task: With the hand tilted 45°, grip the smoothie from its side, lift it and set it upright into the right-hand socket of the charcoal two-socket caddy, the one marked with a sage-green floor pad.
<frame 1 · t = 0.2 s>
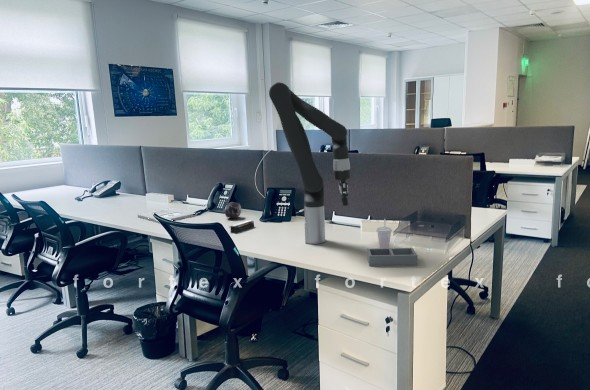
hand: (344, 203, 195), 18 cm above the table, tool pointing down, fingers open, 8 cm apart
mineral specimen: (233, 218, 255), on the table
award plaque: (167, 217, 269), on the table
smoothie: (384, 251, 181), on the table
caddy: (391, 261, 167), on the table
dark brown flat block: (246, 230, 228), on the table
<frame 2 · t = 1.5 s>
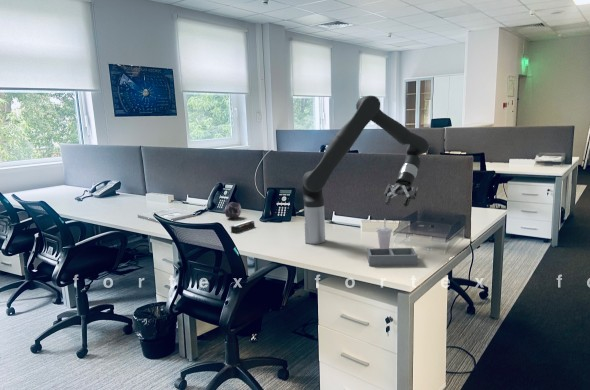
hand: (395, 205, 186), 18 cm above the table, tool tilted 45°, fingers open, 8 cm apart
nothing on the table moved.
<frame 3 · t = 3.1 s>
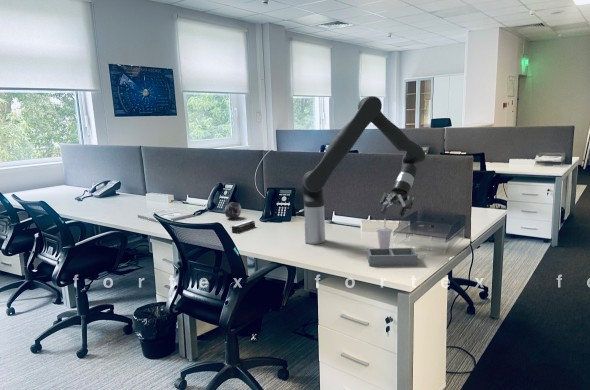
hand: (391, 214, 184), 14 cm above the table, tool tilted 45°, fingers open, 8 cm apart
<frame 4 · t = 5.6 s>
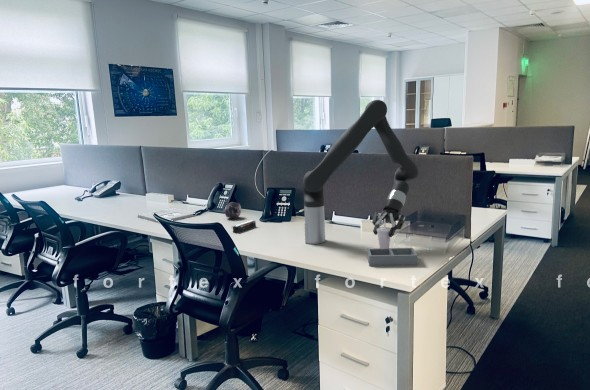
hand: (382, 234, 179), 7 cm above the table, tool tilted 45°, fingers closed on smoothie, 6 cm apart
smoothie: (384, 251, 181), on the table, touching gripper
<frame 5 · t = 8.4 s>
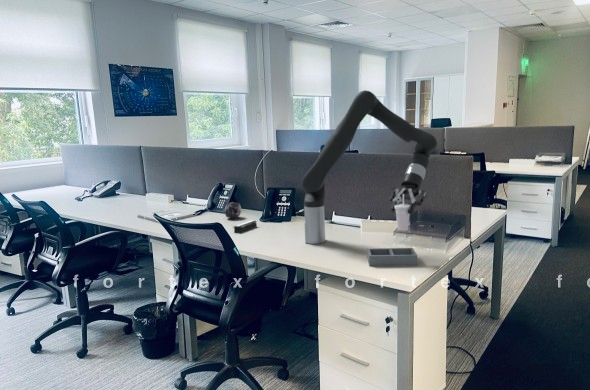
hand: (400, 212, 163), 20 cm above the table, tool tilted 45°, fingers closed on smoothie, 6 cm apart
smoothie: (402, 230, 165), point 13 cm above the table, touching gripper
when the fingers open (10 cm above the table, at t = 10.9 s): smoothie drops 1 cm, resting on caddy.
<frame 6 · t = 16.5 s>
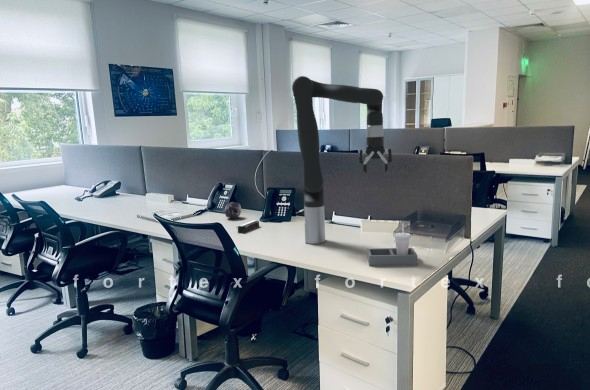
hand: (375, 172, 190), 32 cm above the table, tool pointing down, fingers open, 8 cm apart
smoothie: (402, 258, 167), point 1 cm above the table, touching caddy
dark brown flat block: (252, 230, 228), on the table
everything else where it was.
at the end: smoothie 0.3 cm from the target spot on the caddy, point 1.0 cm above the caddy's base; smoothie tilted 0°; the gripper is holding nothing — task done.
